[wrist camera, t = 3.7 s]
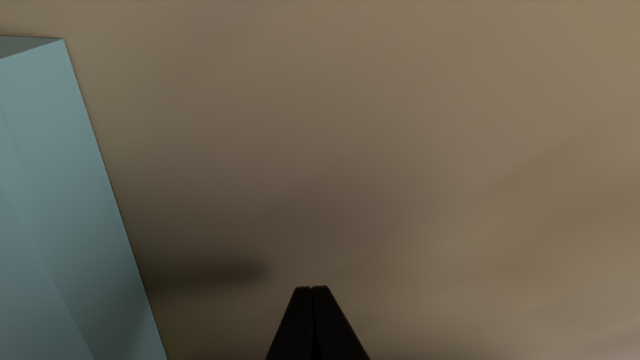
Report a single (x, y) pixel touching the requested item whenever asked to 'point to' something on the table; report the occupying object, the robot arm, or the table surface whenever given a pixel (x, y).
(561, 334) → the table surface
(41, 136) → the light blue slab
